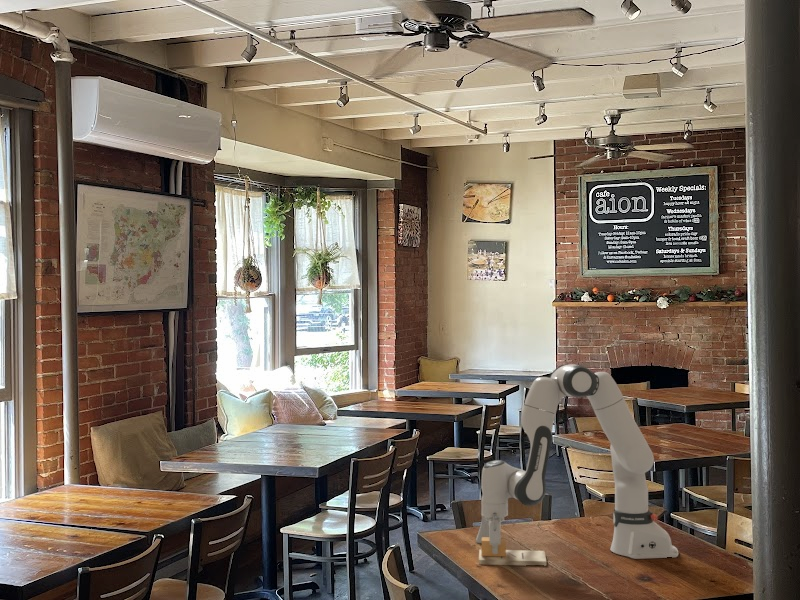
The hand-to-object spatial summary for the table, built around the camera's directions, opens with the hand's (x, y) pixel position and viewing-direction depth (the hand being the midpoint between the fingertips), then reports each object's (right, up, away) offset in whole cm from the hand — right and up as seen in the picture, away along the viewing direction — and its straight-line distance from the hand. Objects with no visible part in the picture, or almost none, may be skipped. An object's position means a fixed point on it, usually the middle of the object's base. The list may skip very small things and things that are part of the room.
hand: (495, 550), depth 312 cm
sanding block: (-1, -1, 0) cm, 1 cm away
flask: (-1, -3, +21) cm, 21 cm away
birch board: (+6, -3, -1) cm, 6 cm away
